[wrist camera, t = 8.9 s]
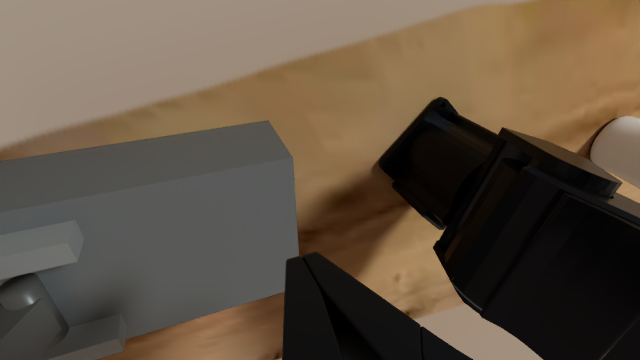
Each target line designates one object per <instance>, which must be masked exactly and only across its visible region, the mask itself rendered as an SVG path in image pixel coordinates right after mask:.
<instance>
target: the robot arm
mask: <svg viewBox="0 0 640 360" xmlns="http://www.w3.org/2000/svg"><path fill="white" fill-rule="evenodd" d="M441 103H442V105H441V106H440V104H441ZM439 106H440V107H439ZM386 163H388V164H387V165H386V166H385V164H386ZM379 167H380V168H381V169H382V170H383V171H384V172H385V173H386V174H388V175H389V176H390V177H391V178H392V179H394V180H395V181H394V182H393V183H392V187H393V188H394V189H395V190H396V191H397V192H398V193H399V194H400V195H401V196H402V197H403V198H404V199H405V200H406V201H407V202H408V203H409V204H410V205H411V206H412V207H413V208H414V209H415V210H416V211H417V212H418V213H419V214H420V215H421V216H422V217H424V218H425V219H426V220H427V221H429V222H430V223H431V224H432V225H434V226H435V227H436V228H438V229H439V230H444V229H445V228H446V229H445V230H444V232H443V234H442V236H441V237H440V239H439V241H436V243H435V245H434V246H433V249H434V251H435V253H436V255H437V257H438V258H439V260H440V262H441V264H442V266H443V268H444V270H445V271H446V273H447V275H448V277H449V279H450V281H451V283H452V284H453V286H454V288H455V290H456V292H457V293H458V295H459V296H460V297H461V299H462V301H463V302H464V303H465V304H467V305H469V306H470V307H471V308H472V309H473V310H475V311H476V312H477V313H479V314H480V316H481V317H482V318H484V319H486V320H488V321H490V322H492V323H493V324H496V325H497V326H499V327H501V328H503V329H504V330H506V331H507V332H509V333H510V334H512V335H513V336H515V337H516V338H518V339H519V340H520V341H522V342H523V343H524V344H525V345H527V346H528V347H529V348H530V349H532V350H533V351H534V352H535V353H536V354H538V355H539V356H540V357H541V358H542V359H543V360H640V203H637V202H635V201H633V200H631V199H629V198H627V197H625V196H623V195H621V194H618V193H616V191H617V189H618V188H619V187H620V186H621V184H622V182H621V181H620V180H618V179H617V178H615V177H614V176H612V175H611V174H609V173H608V172H606V171H605V170H603V169H602V168H600V167H599V166H597V165H596V164H594V163H593V162H591V161H590V160H588V159H587V158H585V157H583V156H580V155H578V154H576V153H573V152H571V151H569V150H567V149H564V148H562V147H560V146H557V145H555V144H553V143H550V142H548V141H545V140H542V139H538V138H535V137H532V136H529V135H526V134H523V133H520V132H516V131H513V130H510V129H507V128H504V127H502V129H501V131H500V132H499V134H498V135H497V134H496V133H494V132H492V131H490V130H488V129H486V128H484V127H482V126H480V125H478V124H476V123H474V122H472V121H470V120H468V119H466V118H464V117H462V116H461V115H459V114H458V113H457V111H456V110H455V109H454V108H453V106H452V105H451V104H450V102H449V101H448V100H447V99H445V98H443V97H439V98H437V99H436V100H435V101H434V102H433V103H432V104H431V105H430V106H429V107H428V109H427V110H426V111H425V112H424V113H423V114H422V115H421V116H420V117H419V118H418V120H417V121H416V122H415V123H414V124H413V125H412V126H411V127H410V128H409V130H408V131H407V132H406V133H405V134H404V135H403V136H402V137H401V138H400V139H399V141H398V142H397V143H396V144H395V145H394V146H393V147H392V148H391V149H390V150H389V152H388V153H387V154H386V155H385V156H384V157H383V158H382V159H381V161H380V163H379ZM282 360H473V359H471V358H470V357H468V356H466V355H465V354H463V353H461V352H460V351H458V350H456V349H455V348H454V347H452V346H450V345H449V344H448V343H446V342H445V341H443V340H442V339H440V338H439V337H437V336H436V335H434V334H433V333H431V332H430V331H428V330H427V329H426V328H424V327H420V325H419V323H417V322H416V321H414V320H413V319H411V318H410V317H409V316H407V315H406V314H404V313H403V312H402V311H400V310H399V309H397V308H396V307H394V306H393V305H392V304H390V303H389V302H387V301H386V300H385V299H383V298H382V297H380V296H379V295H378V294H376V293H375V292H373V291H372V290H370V289H369V288H368V287H366V286H365V285H363V284H362V283H361V282H359V281H358V280H356V279H355V278H354V277H352V276H351V275H349V274H348V273H346V272H345V271H344V270H342V269H341V268H339V267H338V266H337V265H335V264H334V263H332V262H331V261H329V260H328V259H327V258H325V257H324V256H322V255H321V254H320V253H318V252H311V253H307V254H304V255H302V257H301V256H296V257H293V258H289V259H287V260H286V269H285V295H284V322H283V348H282Z"/></svg>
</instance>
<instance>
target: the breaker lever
mask: <svg viewBox="0 0 640 360" xmlns="http://www.w3.org/2000/svg"><path fill="white" fill-rule="evenodd" d="M68 331H69V325H68V323H67V322H66V320H65V319H64V317H63V315H62V314H61V312H60V311H59V309H58V307H57V306H56V304H55V303H54V301H53V299H52V298H51V296H50V294H49V293H48V291H47V290H46V288H45V286H44V285H43V283H42V282H41V280H40V278H39V277H38V275H36V274H34V273H27V274H23V275H19V276H15V277H13V278H11V279H9V280H8V281H6V282H5V283H4V284H2V285H1V286H0V360H36V359H37V357H38V356H39V355H40V354H41V353H42V351H43V350H44V349H48V348H50V347H53V346H55V345H56V344H58V343H59V342H61V341H62V340H63V339H64V338H65V337H66V335H67V334H68Z"/></svg>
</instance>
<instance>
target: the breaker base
mask: <svg viewBox="0 0 640 360" xmlns="http://www.w3.org/2000/svg"><path fill="white" fill-rule="evenodd" d="M296 256H299V247H298V231H297V216H296V200H295V185H294V169H293V157H292V156H291V154H290V153H289V151H288V150H287V148H286V147H285V145H284V144H283V142H282V141H281V139H280V138H279V136H278V135H277V133H276V132H275V130H274V128H273V127H272V125H271V124H270V122H269V121H263V122H256V123H249V124H243V125H236V126H230V127H223V128H217V129H210V130H204V131H197V132H191V133H184V134H177V135H171V136H164V137H158V138H151V139H145V140H138V141H132V142H125V143H119V144H112V145H105V146H99V147H92V148H86V149H79V150H73V151H66V152H60V153H53V154H47V155H40V156H33V157H27V158H20V159H14V160H7V161H1V162H0V286H1V285H2V284H4V283H5V282H6V281H8V280H9V279H11V278H13V277H15V276H19V275H23V274H27V273H34V274H36V275H38V277H39V278H40V280H41V282H42V283H43V285H44V286H45V288H46V290H47V291H48V293H49V294H50V296H51V298H52V299H53V301H54V303H55V304H56V306H57V307H58V309H59V311H60V312H61V314H62V315H63V317H64V319H65V320H66V322H67V323H68V325H69V331H68V334H67V335H66V337H65V338H64V339H63V340H62V341H61V342H59V343H58V344H56V345H55V346H53V347H50V348H48V349H44V350H43V351H42V353H41V354H40V355H39V356H38V357H37V359H36V360H97V359H100V358H103V357H107V356H110V355H113V354H116V353H120V352H123V351H124V348H125V340H126V339H129V338H133V337H136V336H139V335H143V334H146V333H149V332H153V331H156V330H159V329H163V328H166V327H169V326H173V325H176V324H179V323H183V322H186V321H189V320H193V319H196V318H199V317H202V316H206V315H209V314H212V313H216V312H219V311H222V310H226V309H229V308H232V307H236V306H239V305H242V304H246V303H249V302H252V301H256V300H259V299H262V298H266V297H269V296H272V295H276V294H279V293H282V292H285V269H286V260H287V259H289V258H293V257H296Z"/></svg>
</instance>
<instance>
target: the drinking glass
mask: <svg viewBox="0 0 640 360" xmlns="http://www.w3.org/2000/svg"><path fill="white" fill-rule="evenodd" d="M590 158H591V161H592V162H593V163H594V164H596V165H597V166H599V167H600V168H602V169H603V170H605V171H607V172H610V173H612V174H614V175H616V176H617V177H619V178H621V179H623V180H624V181H626V182H628V183H630V184H632V185H633V186H635V187H637V188H639V189H640V118H637V117H634V116H622V117H619V118H617V119H615V120H613V121H612V122H610V123H609V124H608V125H607V126H605V127H604V128H603V129H602V131H601V132H600V133H599V134H598V136H597V137H596V139H595V140H594V142H593V145H592V147H591V151H590Z"/></svg>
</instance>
